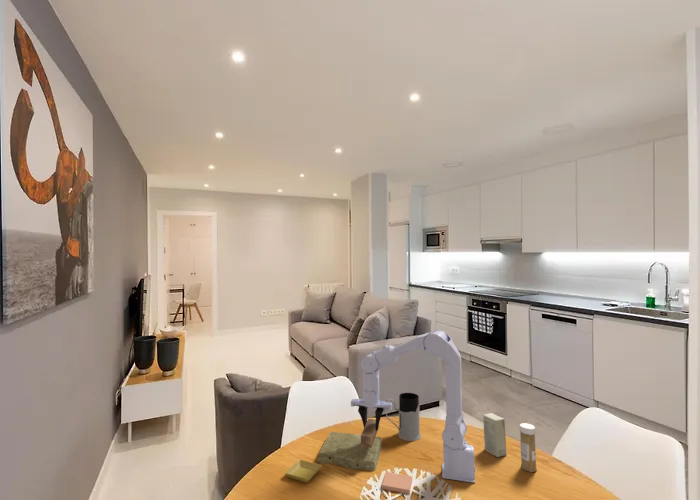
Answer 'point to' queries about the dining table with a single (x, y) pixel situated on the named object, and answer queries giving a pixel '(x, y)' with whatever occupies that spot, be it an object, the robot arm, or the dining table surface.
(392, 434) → the dining table surface
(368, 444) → the walnut stick
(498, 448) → the skincare box
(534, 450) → the sprinkles bottle
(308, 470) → the saucer
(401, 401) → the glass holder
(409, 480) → the glazed tile
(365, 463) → the decorative tile
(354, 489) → the dining table surface
